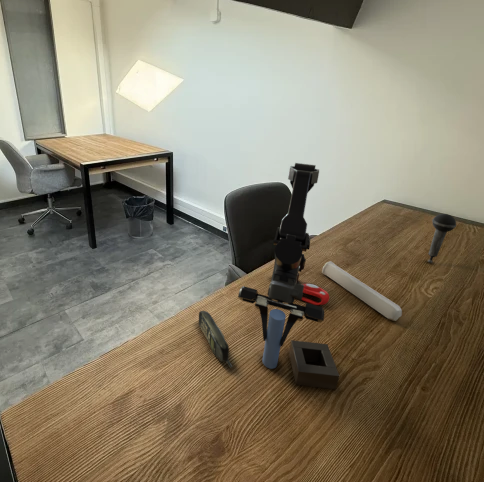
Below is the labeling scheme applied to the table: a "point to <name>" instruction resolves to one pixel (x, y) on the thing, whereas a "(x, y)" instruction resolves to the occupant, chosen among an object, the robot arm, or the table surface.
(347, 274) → the tube
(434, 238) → the microphone
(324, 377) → the stand
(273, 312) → the peg
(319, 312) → the robot arm
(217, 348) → the mobile phone
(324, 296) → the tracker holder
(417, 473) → the table surface
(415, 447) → the table surface
